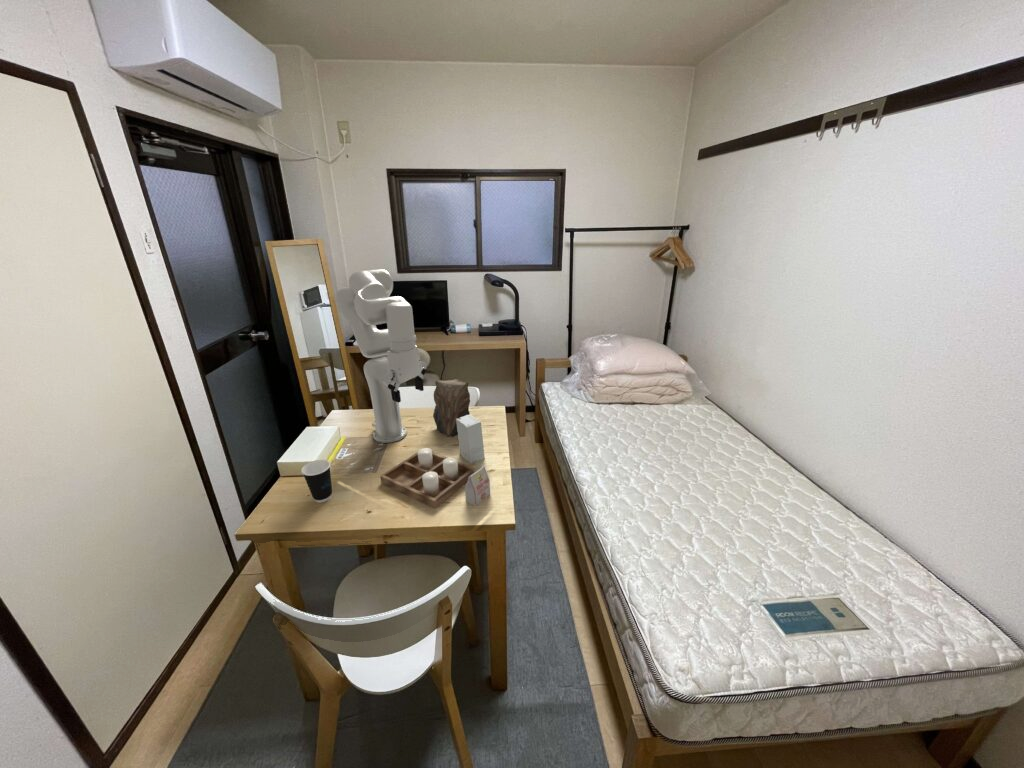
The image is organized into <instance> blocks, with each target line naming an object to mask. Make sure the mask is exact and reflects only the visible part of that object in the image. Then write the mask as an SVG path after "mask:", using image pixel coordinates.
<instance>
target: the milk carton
mask: <svg viewBox="0 0 1024 768" xmlns="http://www.w3.org/2000/svg"><path fill="white" fill-rule="evenodd" d="M490 482H491V481H490V477H489V475H488V472H487V470H486V466H484V465H483V466H481V468H479V469H478V470H476V472H475V473H474V474H472V475H471V476H469V477H468V481H467V483H466V484H465V485H464V491H465V494H464V495H465V502H466V503H469V504H471V505H473V507H476V506H477V505H479V504H480V503H481V502H483V500H485V499H486V498H488V497H489V496H490V495H491V483H490Z"/></svg>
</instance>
